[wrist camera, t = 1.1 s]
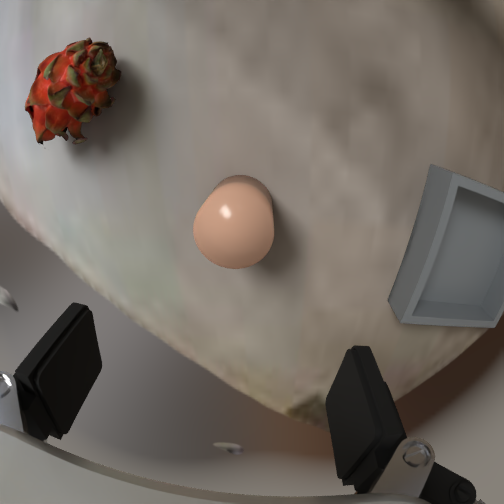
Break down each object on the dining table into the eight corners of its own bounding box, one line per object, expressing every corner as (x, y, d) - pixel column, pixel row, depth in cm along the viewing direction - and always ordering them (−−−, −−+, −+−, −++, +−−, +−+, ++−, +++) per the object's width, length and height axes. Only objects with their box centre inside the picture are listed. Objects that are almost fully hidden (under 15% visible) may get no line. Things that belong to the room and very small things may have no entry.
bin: (430, 163, 26) (453, 172, 22) (521, 200, 26) (542, 211, 22) (387, 300, 33) (400, 322, 29) (479, 309, 33) (494, 327, 29)
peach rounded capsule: (212, 170, 28) (196, 187, 21) (277, 180, 28) (280, 199, 21) (206, 230, 30) (190, 262, 24) (266, 239, 30) (266, 274, 24)
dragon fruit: (144, 51, 24) (80, 131, 29) (81, 10, 18) (22, 101, 23) (140, 82, 20) (67, 179, 25) (55, 31, 13) (-5, 146, 18)
